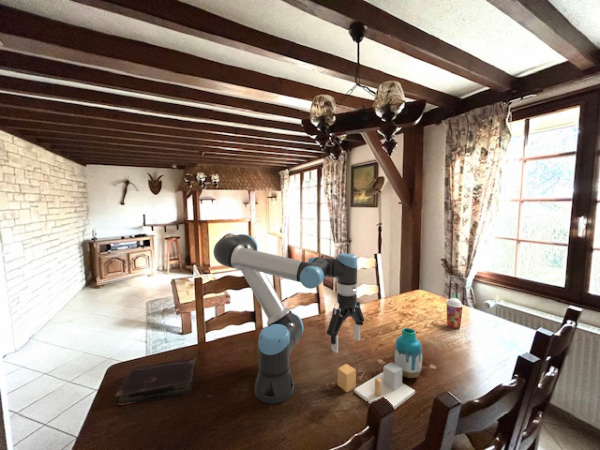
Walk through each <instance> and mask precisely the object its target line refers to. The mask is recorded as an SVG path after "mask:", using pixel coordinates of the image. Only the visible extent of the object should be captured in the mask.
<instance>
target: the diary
mask: <svg viewBox="0 0 600 450" xmlns="http://www.w3.org/2000/svg"><path fill="white" fill-rule="evenodd" d="M195 367H196V368H197V357H191V358H187V359H182V360H175V361H165V362H160V363H154V364H150V365H143V366H142V365H139V366H132V367H131V368H130V370H129V372H128V373H127V375H126V376H125V378H124V379H123V381H122V382H121V385H119V387H118V390H117V391H116V393H115V396H114V398H117V397H119V398H118V401H119V402H120V404H121V403H127V402H134V404H138V402H139V403H144V401H145V402H150V401H153V400H160V398H161V399H165V398H167V397H170V396H169V395H172V396H179V394H180V396H181V394H182V395H186V394H192V393H193V384H194V380H195V375H193V374H194V370H195ZM177 394H178V395H177ZM165 396H166V397H165ZM159 397H160V398H159ZM149 400H150V401H149ZM135 401H136V403H135ZM129 405H132V404H131V403H130V404H129ZM115 406H116V407H119V406H118V402H117V403H116V404H115Z"/></svg>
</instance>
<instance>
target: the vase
mask: <svg viewBox="0 0 600 450" xmlns="http://www.w3.org/2000/svg"><path fill="white" fill-rule="evenodd" d="M394 343H395V344H394V364H396V365H398V366H399V367H401V368H402V377H404V378H408V379H415V378H417V377H419V375H420V374H421V371H422V368H423V367H422V366H423V346H422V343H421V341H420V340H419V339H418V338H417V332H416V330H415V329H414V328H410V327H403V328H402V329H401V335H399V336H398V337H397V338H396V340H395V342H394Z"/></svg>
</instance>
